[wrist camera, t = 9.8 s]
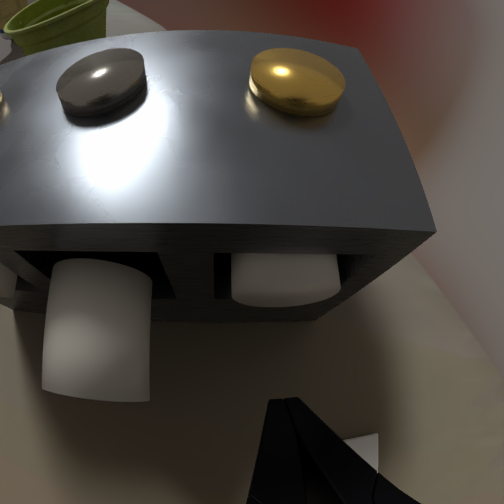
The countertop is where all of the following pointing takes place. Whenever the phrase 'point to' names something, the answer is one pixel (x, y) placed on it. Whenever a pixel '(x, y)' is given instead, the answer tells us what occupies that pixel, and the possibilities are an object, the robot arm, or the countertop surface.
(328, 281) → the button
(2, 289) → the button
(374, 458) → the card
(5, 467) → the countertop surface
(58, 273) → the button
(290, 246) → the console
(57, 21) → the plant pot
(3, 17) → the supplement tub
